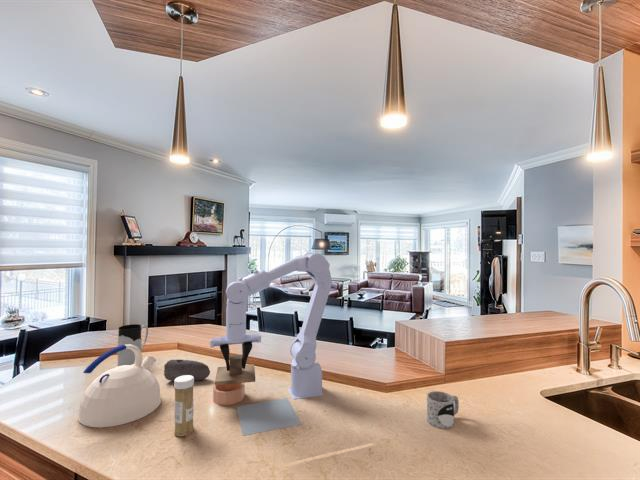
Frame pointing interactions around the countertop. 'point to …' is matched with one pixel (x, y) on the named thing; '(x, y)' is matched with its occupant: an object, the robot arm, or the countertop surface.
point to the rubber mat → (267, 416)
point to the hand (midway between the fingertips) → (235, 368)
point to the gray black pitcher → (130, 342)
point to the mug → (441, 409)
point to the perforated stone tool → (185, 369)
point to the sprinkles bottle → (183, 405)
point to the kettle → (120, 392)
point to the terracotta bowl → (228, 393)
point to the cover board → (235, 378)
